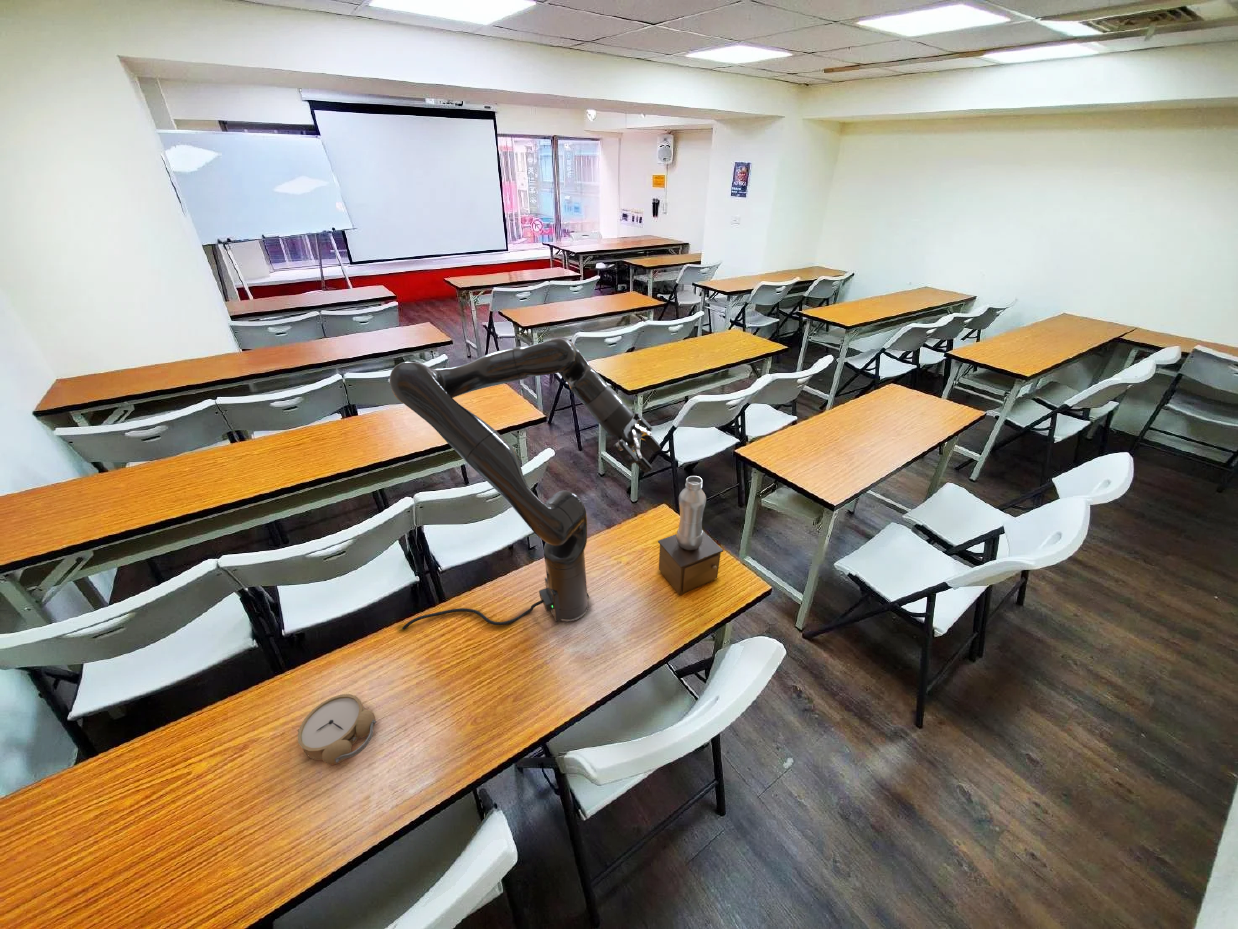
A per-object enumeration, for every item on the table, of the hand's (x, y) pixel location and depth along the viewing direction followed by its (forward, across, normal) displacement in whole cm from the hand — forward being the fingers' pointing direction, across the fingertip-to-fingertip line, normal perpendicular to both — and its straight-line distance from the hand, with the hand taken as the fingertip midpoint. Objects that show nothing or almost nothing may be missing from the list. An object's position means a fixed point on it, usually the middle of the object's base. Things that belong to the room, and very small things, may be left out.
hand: (653, 460), depth 111 cm
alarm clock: (-8, +65, -53) cm, 85 cm away
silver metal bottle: (+24, +3, -7) cm, 25 cm away
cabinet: (+32, +4, -14) cm, 36 cm away
